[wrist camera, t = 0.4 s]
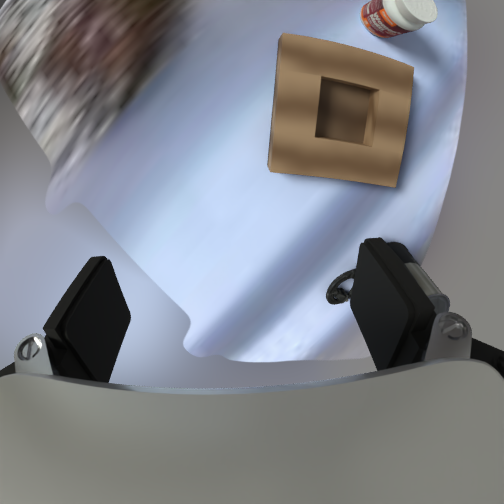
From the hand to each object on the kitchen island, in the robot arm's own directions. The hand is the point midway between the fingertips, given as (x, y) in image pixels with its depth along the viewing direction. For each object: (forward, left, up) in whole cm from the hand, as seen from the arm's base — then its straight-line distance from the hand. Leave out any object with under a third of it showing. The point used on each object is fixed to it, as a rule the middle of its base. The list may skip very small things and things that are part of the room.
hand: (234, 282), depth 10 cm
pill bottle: (-23, +18, -30) cm, 42 cm away
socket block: (-7, +13, -30) cm, 33 cm away
